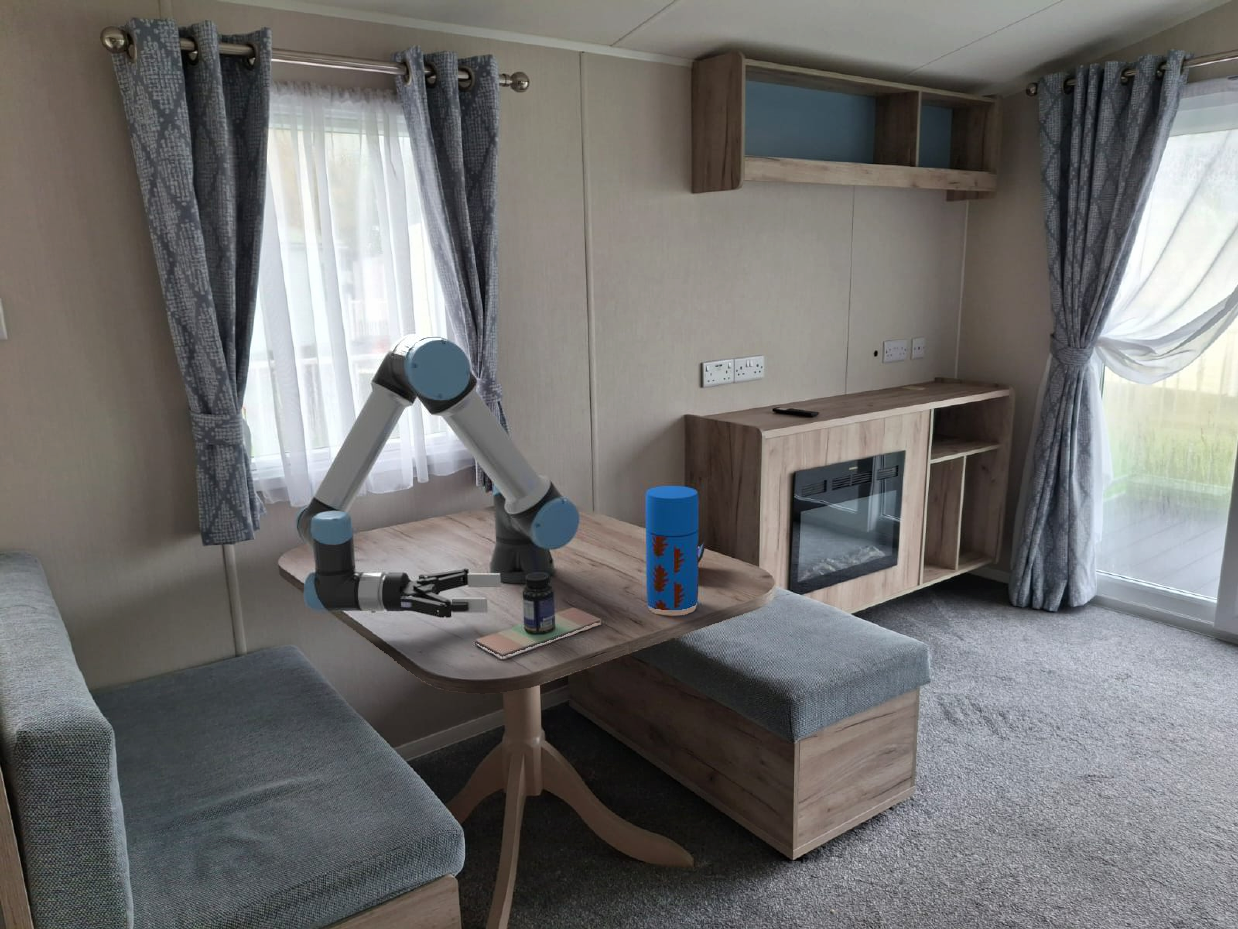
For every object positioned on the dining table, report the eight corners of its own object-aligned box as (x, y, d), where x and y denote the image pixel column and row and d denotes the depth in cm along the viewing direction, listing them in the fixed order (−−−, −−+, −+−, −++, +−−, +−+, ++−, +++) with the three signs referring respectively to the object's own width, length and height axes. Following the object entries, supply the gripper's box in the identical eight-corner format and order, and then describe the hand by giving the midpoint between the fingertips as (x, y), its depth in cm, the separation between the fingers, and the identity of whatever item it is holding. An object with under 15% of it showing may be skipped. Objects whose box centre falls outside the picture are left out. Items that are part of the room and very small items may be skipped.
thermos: (667, 594, 197) (666, 483, 192) (707, 605, 190) (708, 490, 185) (636, 609, 189) (634, 493, 183) (677, 621, 182) (677, 501, 177)
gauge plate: (475, 645, 172) (475, 639, 172) (573, 612, 187) (573, 607, 187) (502, 660, 165) (502, 654, 165) (601, 624, 181) (601, 619, 181)
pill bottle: (556, 622, 179) (554, 570, 177) (554, 635, 173) (553, 581, 171) (525, 623, 179) (522, 571, 177) (522, 636, 173) (520, 581, 171)
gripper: (405, 587, 189) (505, 588, 188) (366, 635, 165) (481, 636, 164) (403, 553, 188) (504, 553, 186) (363, 596, 163) (479, 597, 162)
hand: (494, 592), depth 175 cm, fingers open, 13 cm apart
